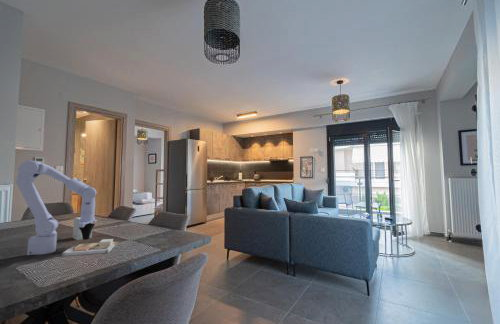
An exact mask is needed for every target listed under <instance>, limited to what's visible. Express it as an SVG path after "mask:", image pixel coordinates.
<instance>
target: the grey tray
mask: <svg viewBox="0 0 500 324" xmlns="http://www.w3.org/2000/svg"><path fill="white" fill-rule="evenodd" d="M75 247H76V246H73V245H72V246H71V247H69V248H68V249H66V250H64V251H63V252H61V257H71V256H81V255H82V256H83V255H84V256H85V255H97V254H108V253H110V252H111V250H112V249H113V248H114V247H115V246H114V244H111V245H110V246H109V247H106V248H105V249H104V248H103V249H91V250H90V249H89V250H87V251H74V252H73V250H74V249H75Z"/></svg>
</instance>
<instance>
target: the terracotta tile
mask: <svg viewBox="0 0 500 324" xmlns="http://www.w3.org/2000/svg"><path fill="white" fill-rule="evenodd" d="M90 249H91V248H90V246H85V247H77V248H76V249H74V250H73V251H72V252H74V251H88V250H90Z"/></svg>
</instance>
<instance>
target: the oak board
mask: <svg viewBox="0 0 500 324" xmlns="http://www.w3.org/2000/svg"><path fill="white" fill-rule="evenodd" d="M118 243H119V241H113V243H112V244H114V247H116V245H117V244H118ZM85 246H90V249H96V248H108V247H109V246H110V245H109V246H99V242H89V243H80V244H77V245H76V246H75V249H76V248H77V247H85Z"/></svg>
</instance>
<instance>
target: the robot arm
mask: <svg viewBox="0 0 500 324" xmlns="http://www.w3.org/2000/svg"><path fill="white" fill-rule="evenodd" d="M17 169H18V170H17V176H16V181H15V182H16V185H17V187H18V189H19V191H20V193H21V195H22V197H23V199H24V201H25V202H26V205H27V206H28V209H29V211H30V213H31V215H32V216H33V218H34V221H33V222H34V225H35V233H36V235H32V236H31V237H30V238H29V239H28V241H27V252H26V256H30V255H31V256H32V255H46V254H52V253H54V252H56V250H57V242H58V241H57V239H58V238H57V237H58V232H57V231H56V230H57V229H58V228H59V221H58V220H56V219H55V218H54V217H53V215H52V214H51V213H50V212H49V211H48V209H47V207H46V205H45V204H44V202H43V199H42V197H41V196H40V195H41V194H40V193H39V191H38V190H37V187H36V186H35V183H34V182H35V180H36V179H37V178H38V177H39V176H41V175H46V176H49V177H52V178H54V179H56V180H57V181H58V182H61V183H63V184H64V185H65V187H66V189H68V190H69V191H71V192H73V193H75V194H76V195H80V197H81V198H82V199H81V205H80V207H81V208H80V217H81V218H80V223H79V228H80V230H81V233H82V237H83V239H82V240H85V241H86V240H89V239H90V238H89V237H90V234H91V231H92V232H93V229H94V226H95V225H96V224H95V223H96V222H97V221H98V220H97V219H96V218H95V212H96V195H97V190H96V188H94V187H92V186H91V185H90V184H86V183H84V182H83V181H82V179H81V178H75V177H74V178H70V177H69V176H67V175H66V174H65V173H62V172H61V171H59V170H58V169H56V168H55V167H52V166H50V165H49V164H45V163H44V162H42V161H37V160H33V159H32V160H31V159H29V160H25V161H23V162H22V163H21V164H20V165H19V166H18V168H17ZM92 222H93V224H91V223H92Z"/></svg>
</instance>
